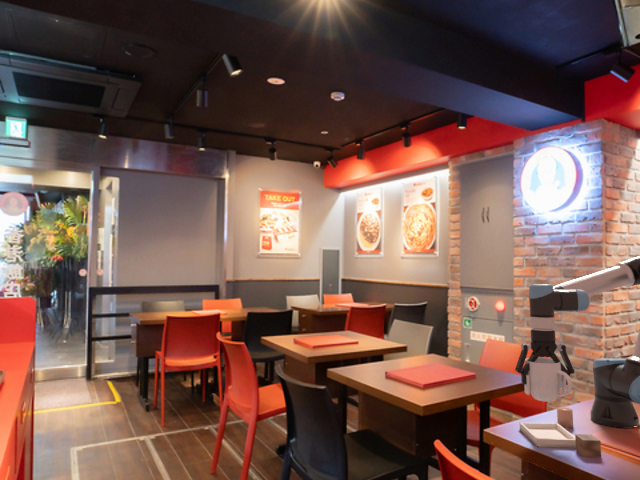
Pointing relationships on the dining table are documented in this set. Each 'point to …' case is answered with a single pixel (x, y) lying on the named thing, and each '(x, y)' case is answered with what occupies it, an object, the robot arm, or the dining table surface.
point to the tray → (548, 435)
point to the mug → (546, 379)
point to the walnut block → (588, 445)
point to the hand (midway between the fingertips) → (545, 394)
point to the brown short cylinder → (565, 417)
